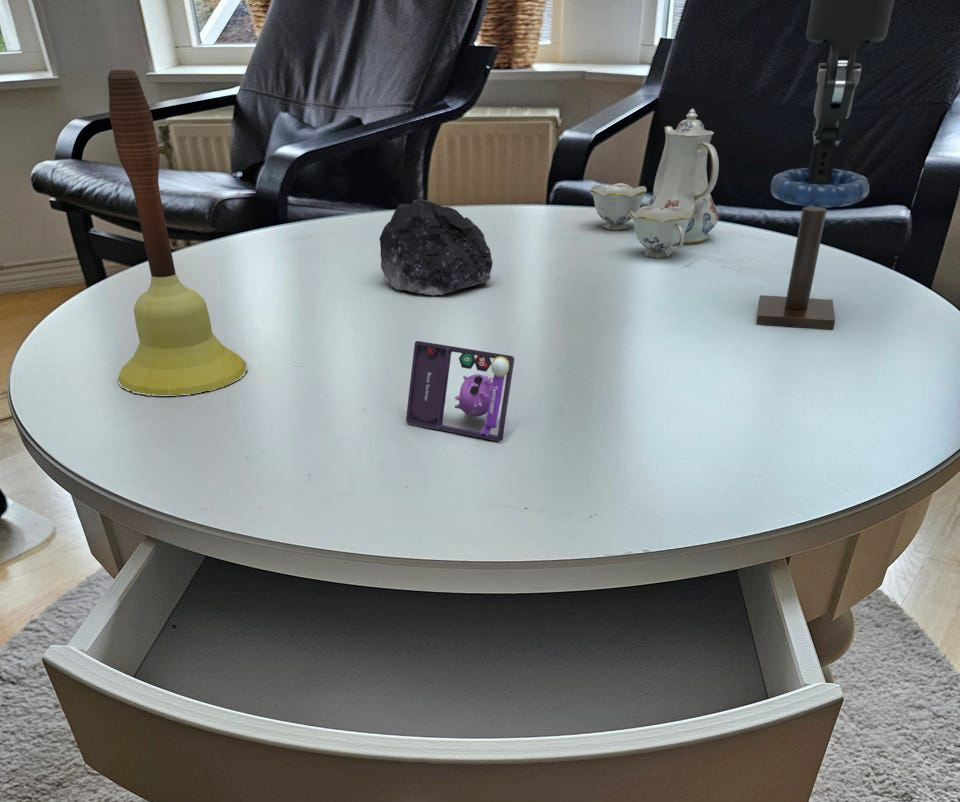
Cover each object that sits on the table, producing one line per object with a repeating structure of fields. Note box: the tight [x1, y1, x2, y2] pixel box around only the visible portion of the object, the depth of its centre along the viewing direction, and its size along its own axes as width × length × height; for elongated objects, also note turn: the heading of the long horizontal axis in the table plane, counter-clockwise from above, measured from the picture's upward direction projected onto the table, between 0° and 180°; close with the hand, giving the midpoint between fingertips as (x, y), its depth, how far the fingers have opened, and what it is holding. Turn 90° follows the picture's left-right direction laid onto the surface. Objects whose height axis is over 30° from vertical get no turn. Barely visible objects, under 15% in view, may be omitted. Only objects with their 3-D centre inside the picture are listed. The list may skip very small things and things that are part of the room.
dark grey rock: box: [379, 199, 494, 296], centre depth 111 cm, size 13×14×10 cm
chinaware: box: [589, 108, 720, 259], centre depth 127 cm, size 28×17×17 cm, turn 17°
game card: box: [405, 340, 515, 442], centre depth 76 cm, size 7×5×9 cm
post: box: [755, 206, 836, 331], centre depth 97 cm, size 8×8×11 cm
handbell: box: [107, 69, 247, 395], centre depth 81 cm, size 12×12×25 cm
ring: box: [770, 167, 871, 208], centre depth 93 cm, size 10×10×2 cm
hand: (818, 182), depth 96 cm, fingers closed on ring, 2 cm apart
